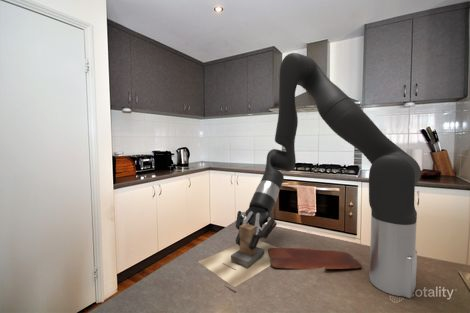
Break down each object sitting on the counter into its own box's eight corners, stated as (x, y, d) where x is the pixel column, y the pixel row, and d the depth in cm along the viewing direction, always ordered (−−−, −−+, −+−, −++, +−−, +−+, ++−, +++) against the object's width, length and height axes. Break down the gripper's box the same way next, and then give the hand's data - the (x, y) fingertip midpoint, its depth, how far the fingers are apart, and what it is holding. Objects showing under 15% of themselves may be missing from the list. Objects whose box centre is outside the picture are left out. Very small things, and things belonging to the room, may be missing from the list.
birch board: (290, 257, 71) (290, 253, 71) (234, 293, 55) (234, 287, 55) (253, 241, 83) (253, 237, 83) (198, 266, 67) (197, 261, 67)
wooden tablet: (272, 271, 62) (272, 265, 62) (265, 250, 72) (266, 246, 72) (366, 272, 63) (367, 266, 63) (347, 252, 73) (348, 247, 73)
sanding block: (264, 254, 70) (264, 224, 69) (247, 267, 63) (247, 233, 62) (248, 248, 74) (248, 220, 73) (230, 260, 66) (230, 228, 66)
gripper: (242, 188, 77) (219, 235, 68) (280, 194, 68) (260, 248, 60) (251, 200, 82) (231, 245, 73) (288, 207, 73) (270, 259, 64)
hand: (244, 246), depth 66 cm, fingers closed on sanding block, 4 cm apart
